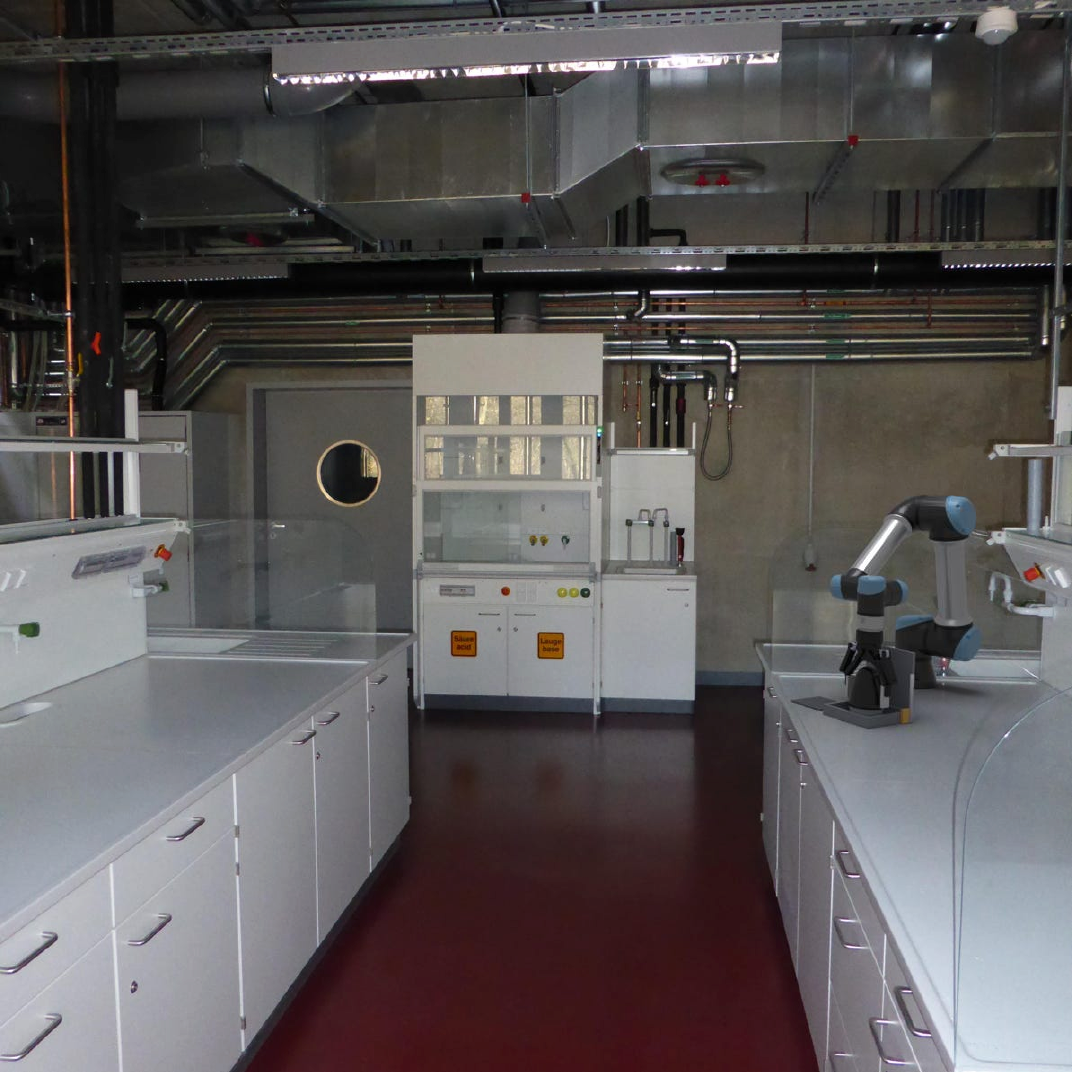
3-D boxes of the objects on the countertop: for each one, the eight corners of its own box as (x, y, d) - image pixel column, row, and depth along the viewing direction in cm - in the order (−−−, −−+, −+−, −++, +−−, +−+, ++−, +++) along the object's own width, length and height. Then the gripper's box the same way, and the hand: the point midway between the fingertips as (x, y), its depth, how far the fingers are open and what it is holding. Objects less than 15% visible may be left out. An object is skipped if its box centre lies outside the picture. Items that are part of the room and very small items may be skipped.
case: (866, 706, 290) (868, 642, 289) (915, 722, 274) (918, 653, 272) (822, 713, 282) (825, 647, 280) (871, 730, 266) (874, 659, 264)
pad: (819, 697, 301) (819, 696, 301) (848, 706, 291) (848, 704, 291) (790, 701, 296) (790, 700, 296) (819, 710, 285) (819, 709, 285)
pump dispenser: (861, 723, 272) (863, 671, 271) (840, 714, 282) (842, 663, 281) (892, 721, 275) (894, 669, 273) (870, 711, 285) (872, 661, 283)
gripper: (828, 623, 285) (825, 694, 287) (894, 637, 264) (891, 714, 265) (847, 621, 289) (844, 691, 290) (913, 635, 267) (909, 710, 269)
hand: (866, 702), depth 278 cm, fingers open, 12 cm apart
